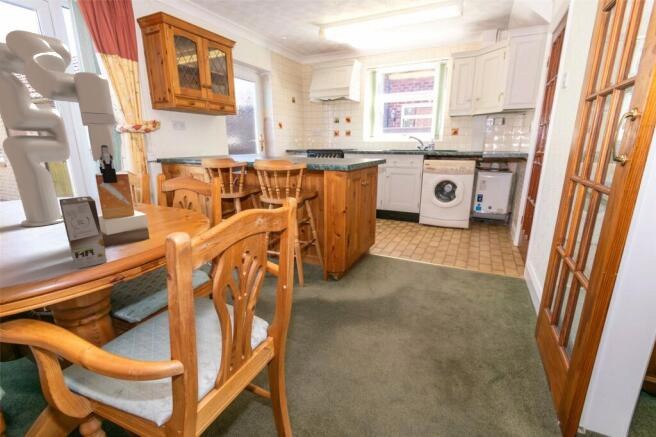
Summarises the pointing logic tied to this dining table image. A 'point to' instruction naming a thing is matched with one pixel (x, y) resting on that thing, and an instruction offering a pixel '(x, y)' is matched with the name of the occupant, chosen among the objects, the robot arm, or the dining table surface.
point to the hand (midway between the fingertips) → (109, 180)
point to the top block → (123, 223)
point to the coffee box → (83, 231)
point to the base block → (125, 237)
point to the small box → (115, 196)
